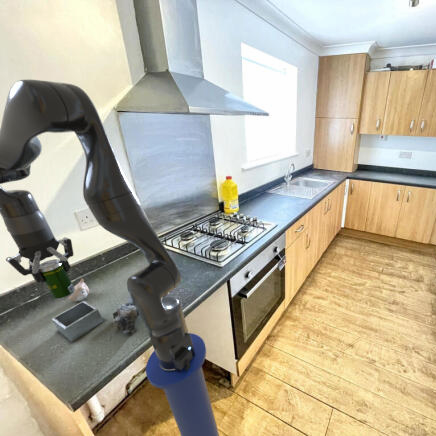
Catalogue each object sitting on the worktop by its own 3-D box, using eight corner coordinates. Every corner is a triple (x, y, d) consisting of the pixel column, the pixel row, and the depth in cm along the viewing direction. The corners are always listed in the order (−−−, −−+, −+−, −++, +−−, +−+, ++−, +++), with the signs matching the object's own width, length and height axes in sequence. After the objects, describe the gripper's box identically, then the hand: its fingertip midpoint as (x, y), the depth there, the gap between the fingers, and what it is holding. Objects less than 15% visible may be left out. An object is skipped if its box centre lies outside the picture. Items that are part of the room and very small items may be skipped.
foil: (161, 296, 90) (128, 305, 75) (154, 325, 89) (119, 339, 74) (136, 290, 92) (99, 297, 78) (129, 318, 91) (90, 331, 76)
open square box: (103, 321, 83) (97, 308, 81) (72, 341, 76) (65, 328, 73) (89, 312, 87) (83, 300, 85) (58, 331, 80) (51, 318, 77)
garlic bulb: (92, 298, 94) (84, 283, 90) (71, 307, 90) (62, 291, 86) (90, 290, 98) (83, 275, 95) (70, 298, 94) (62, 282, 91)
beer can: (78, 286, 78) (63, 257, 74) (72, 297, 74) (56, 266, 69) (57, 291, 76) (40, 261, 71) (50, 302, 72) (32, 271, 67)
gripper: (-4, 242, 58) (28, 294, 65) (67, 220, 70) (88, 266, 76) (-15, 235, 61) (17, 286, 68) (55, 215, 73) (76, 261, 80)
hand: (55, 275), depth 72 cm, fingers closed on beer can, 5 cm apart
